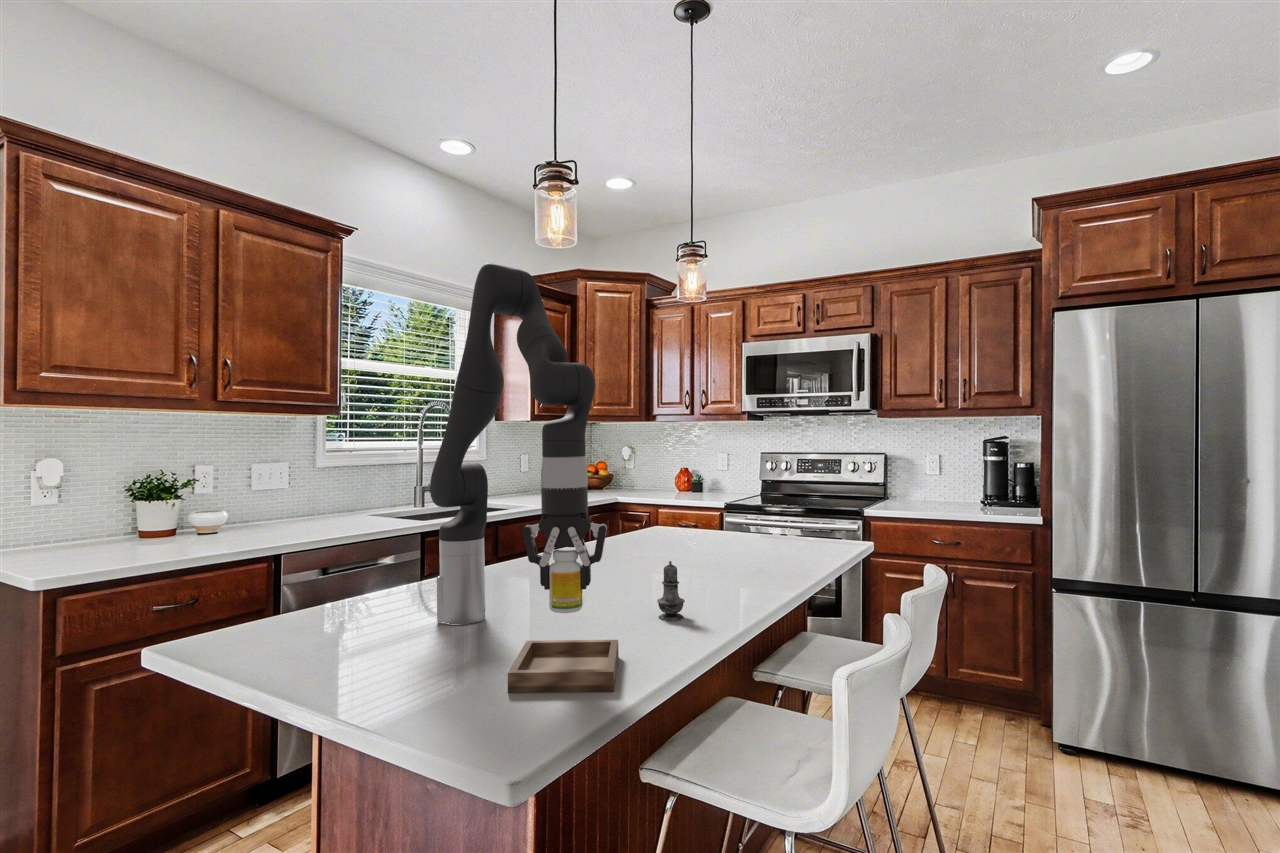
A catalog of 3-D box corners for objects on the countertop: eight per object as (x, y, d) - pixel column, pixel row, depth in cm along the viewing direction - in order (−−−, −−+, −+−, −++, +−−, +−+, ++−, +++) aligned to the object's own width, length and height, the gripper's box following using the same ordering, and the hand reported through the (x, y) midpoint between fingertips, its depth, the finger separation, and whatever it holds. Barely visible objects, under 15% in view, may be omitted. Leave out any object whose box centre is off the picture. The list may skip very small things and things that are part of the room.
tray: (507, 692, 103) (507, 672, 103) (526, 657, 119) (526, 640, 119) (613, 691, 103) (613, 671, 103) (618, 656, 119) (618, 639, 119)
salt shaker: (685, 621, 140) (684, 563, 141) (657, 621, 141) (656, 563, 141) (684, 613, 146) (683, 557, 146) (657, 614, 146) (656, 558, 147)
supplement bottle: (545, 607, 112) (544, 549, 112) (575, 603, 114) (574, 546, 115) (556, 615, 107) (555, 554, 107) (587, 611, 110) (586, 551, 110)
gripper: (516, 487, 107) (517, 594, 107) (607, 485, 107) (608, 593, 107) (524, 483, 115) (526, 584, 115) (609, 482, 115) (611, 583, 115)
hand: (566, 588), depth 111 cm, fingers closed on supplement bottle, 5 cm apart
